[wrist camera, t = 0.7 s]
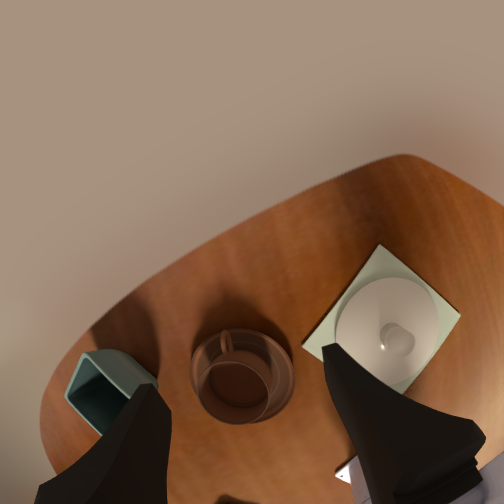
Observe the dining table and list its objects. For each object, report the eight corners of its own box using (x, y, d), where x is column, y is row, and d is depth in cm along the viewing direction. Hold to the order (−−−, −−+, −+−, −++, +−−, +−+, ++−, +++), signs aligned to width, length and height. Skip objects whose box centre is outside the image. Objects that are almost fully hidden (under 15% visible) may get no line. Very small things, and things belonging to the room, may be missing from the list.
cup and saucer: (177, 352, 34) (154, 368, 28) (260, 305, 32) (251, 314, 26) (229, 428, 32) (216, 455, 26) (314, 390, 31) (316, 415, 25)
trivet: (459, 315, 28) (460, 315, 28) (388, 406, 29) (389, 408, 29) (378, 244, 30) (379, 244, 30) (302, 345, 31) (302, 346, 31)
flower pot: (126, 334, 35) (82, 350, 26) (177, 379, 33) (142, 408, 25) (102, 376, 35) (62, 397, 27) (148, 418, 34) (114, 448, 25)
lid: (453, 317, 28) (475, 325, 23) (389, 400, 29) (401, 420, 23) (381, 254, 30) (395, 252, 25) (312, 345, 31) (314, 360, 25)
